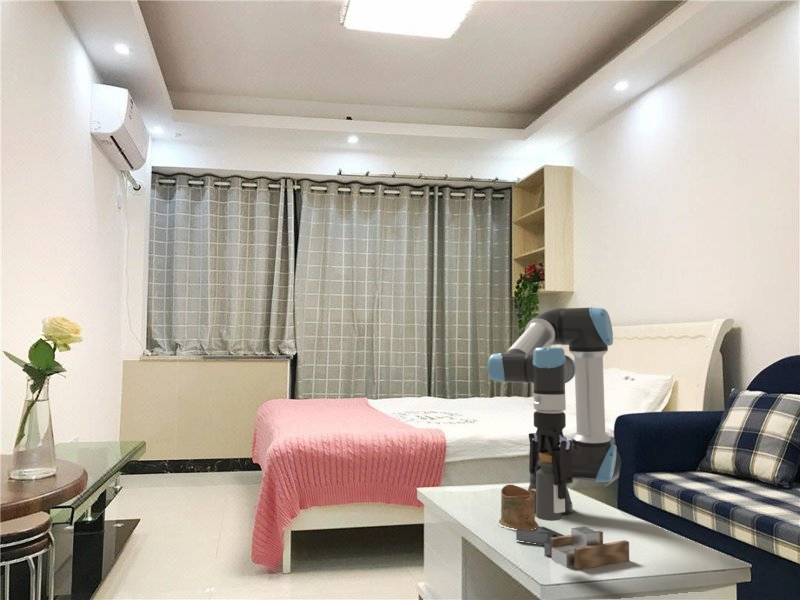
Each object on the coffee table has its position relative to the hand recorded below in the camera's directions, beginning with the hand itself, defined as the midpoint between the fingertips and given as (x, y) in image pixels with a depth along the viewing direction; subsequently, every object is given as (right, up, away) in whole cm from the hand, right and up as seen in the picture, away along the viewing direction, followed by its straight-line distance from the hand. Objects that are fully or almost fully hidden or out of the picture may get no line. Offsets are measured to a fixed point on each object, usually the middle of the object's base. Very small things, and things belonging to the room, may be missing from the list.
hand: (550, 508), depth 148 cm
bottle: (-1, -2, 0) cm, 2 cm away
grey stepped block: (+7, -13, +2) cm, 15 cm away
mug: (-1, -16, +29) cm, 33 cm away
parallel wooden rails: (+10, -13, +4) cm, 17 cm away
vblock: (+1, -14, +12) cm, 19 cm away
